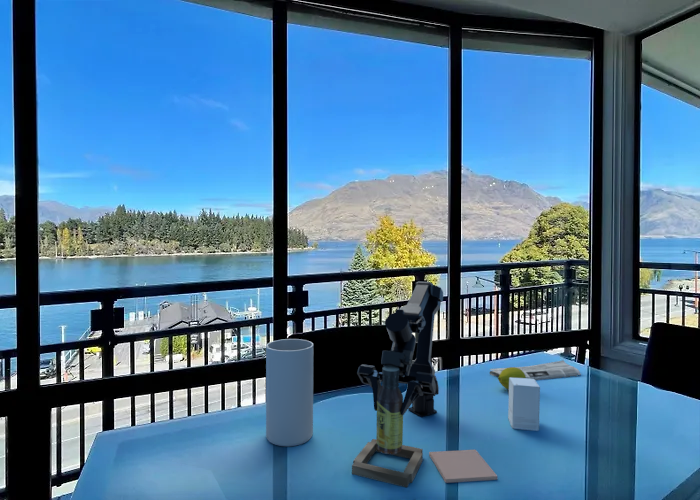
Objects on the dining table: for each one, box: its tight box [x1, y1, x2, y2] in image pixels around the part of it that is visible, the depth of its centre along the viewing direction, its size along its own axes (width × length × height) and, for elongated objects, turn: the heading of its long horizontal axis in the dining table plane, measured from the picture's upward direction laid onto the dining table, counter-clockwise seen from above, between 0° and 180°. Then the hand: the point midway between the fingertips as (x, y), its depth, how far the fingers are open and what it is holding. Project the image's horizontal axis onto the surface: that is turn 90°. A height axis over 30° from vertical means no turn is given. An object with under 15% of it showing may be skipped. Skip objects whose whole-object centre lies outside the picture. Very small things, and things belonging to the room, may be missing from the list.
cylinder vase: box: [265, 338, 314, 447], centre depth 116 cm, size 12×12×25 cm
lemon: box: [497, 366, 526, 391], centre depth 153 cm, size 11×8×8 cm
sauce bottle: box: [376, 365, 404, 455], centre depth 102 cm, size 7×6×20 cm
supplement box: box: [507, 378, 541, 432], centre depth 125 cm, size 7×7×13 cm
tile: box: [428, 449, 498, 484], centre depth 102 cm, size 12×12×1 cm
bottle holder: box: [351, 438, 424, 488], centre depth 102 cm, size 14×14×2 cm
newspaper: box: [489, 359, 582, 381], centre depth 171 cm, size 35×12×4 cm, turn 105°
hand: (388, 412), depth 101 cm, fingers closed on sauce bottle, 6 cm apart
